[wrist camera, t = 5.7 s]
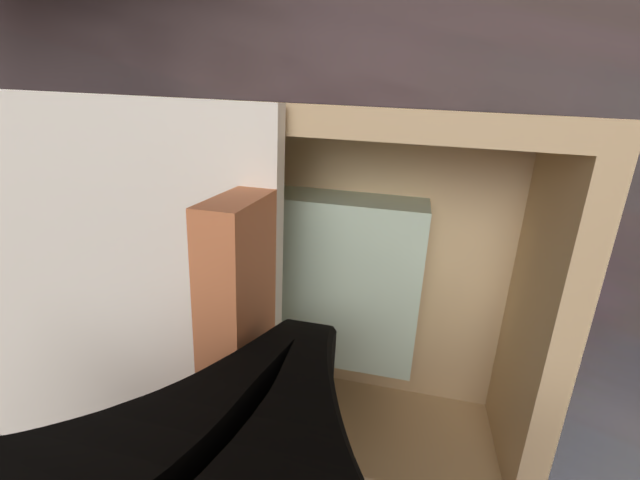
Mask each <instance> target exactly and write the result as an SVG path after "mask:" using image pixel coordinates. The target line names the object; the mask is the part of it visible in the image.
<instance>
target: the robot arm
mask: <svg viewBox="0 0 640 480" xmlns="http://www.w3.org/2000/svg"><path fill="white" fill-rule="evenodd" d="M336 334H337V331H336V329H335V328H334V327H333V326H330V325H324V324H318V323H311V322H305V321H298V320H292V319H286V320H284V321H283V322H281V323H279V324H278V325H276V326H275V327H273V328H271V329H270V330H268V331H267V332H265V333H264V334H262V335H261V336H259V337H257V338H256V339H254V340H253V341H251V342H249V343H248V344H246V345H245V346H243V347H241V348H240V349H238V350H236V351H235V352H233V353H231V354H229V355H228V356H226V357H224V358H222V359H220V360H219V361H217V362H215V363H213V364H211V365H210V366H208V367H206V368H204V369H202V370H200V371H198V372H196V373H194V374H192V375H190V376H188V377H186V378H184V379H182V380H180V381H177V382H175V383H173V384H171V385H168V386H166V387H164V388H161V389H159V390H157V391H154V392H152V393H149V394H146V395H144V396H141V397H138V398H135V399H132V400H129V401H127V402H124V403H121V404H118V405H115V406H113V407H110V408H107V409H104V410H101V411H98V412H94V413H91V414H88V415H84V416H81V417H77V418H74V419H70V420H67V421H63V422H59V423H55V424H51V425H48V426H44V427H40V428H35V429H31V430H27V431H23V432H18V433H13V434H8V435H3V436H0V480H365V479H364V477H363V475H362V472H361V470H360V468H359V465H358V463H357V461H356V458H355V456H354V453H353V451H352V448H351V445H350V442H349V439H348V436H347V433H346V430H345V427H344V423H343V420H342V416H341V413H340V409H339V404H338V400H337V395H336V390H335V384H334V363H335V348H336Z"/></svg>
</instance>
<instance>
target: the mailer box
mask: <svg viewBox="0 0 640 480" xmlns="http://www.w3.org/2000/svg"><path fill="white" fill-rule="evenodd" d="M92 94H93V93H92ZM112 95H115V94H112ZM133 96H137V95H133ZM154 97H159V96H154ZM174 98H181V97H174ZM195 99H201V98H195ZM216 100H222V99H216ZM236 101H243V100H236ZM257 102H264V101H257ZM278 103H284V102H278ZM639 152H640V120H631V119H612V118H593V117H574V116H554V115H533V114H512V113H491V112H471V111H450V110H429V109H409V108H388V107H367V106H346V105H326V104H305V103H286V119H285V171H284V224H283V276H282V322H283V321H284V320H286V319H292V320H298V321H305V322H311V323H318V324H324V325H330V326H333V327H334V328H335V329H336V331H337V334H336V348H335V363H334V384H335V390H336V395H337V400H338V404H339V409H340V413H341V416H342V420H343V423H344V427H345V430H346V433H347V436H348V439H349V442H350V445H351V448H352V451H353V453H354V456H355V458H356V461H357V463H358V465H359V468H360V470H361V472H362V475H363V477H364V479H365V480H548V477H549V474H550V470H551V467H552V463H553V459H554V456H555V452H556V449H557V445H558V442H559V438H560V434H561V431H562V427H563V424H564V420H565V417H566V413H567V409H568V406H569V402H570V399H571V395H572V392H573V388H574V384H575V381H576V377H577V374H578V370H579V366H580V363H581V359H582V356H583V352H584V349H585V345H586V341H587V338H588V334H589V331H590V327H591V324H592V320H593V316H594V313H595V309H596V306H597V302H598V299H599V295H600V291H601V288H602V284H603V281H604V277H605V274H606V270H607V266H608V263H609V259H610V256H611V252H612V249H613V245H614V241H615V238H616V234H617V231H618V227H619V224H620V220H621V216H622V213H623V209H624V206H625V202H626V198H627V195H628V191H629V188H630V184H631V181H632V177H633V173H634V170H635V166H636V163H637V159H638V156H639Z"/></svg>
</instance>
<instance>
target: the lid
mask: <svg viewBox="0 0 640 480" xmlns="http://www.w3.org/2000/svg"><path fill="white" fill-rule="evenodd" d="M285 119H286V103H278V102H257V101H236V100H216V99H195V98H174V97H154V96H133V95H112V94H92V93H71V92H50V91H30V90H9V89H0V434H1V435H8V434H13V433H18V432H23V431H27V430H31V429H35V428H40V427H44V426H48V425H51V424H55V423H59V422H63V421H67V420H70V419H74V418H77V417H81V416H84V415H88V414H91V413H94V412H98V411H101V410H104V409H107V408H110V407H113V406H115V405H118V404H121V403H124V402H127V401H129V400H132V399H135V398H138V397H141V396H144V395H146V394H149V393H152V392H154V391H157V390H159V389H161V388H164V387H166V386H168V385H171V384H173V383H175V382H177V381H180V380H182V379H184V378H186V377H188V376H190V375H192V374H194V373H196V372H198V371H200V370H202V369H204V368H206V367H208V366H210V365H211V364H213V363H215V362H217V361H219V360H220V359H222V358H224V357H226V356H228V355H229V354H231V353H233V352H235V351H236V350H238V349H240V348H241V347H243V346H245V345H246V344H248V343H249V342H251V341H253V340H254V339H256V338H257V337H259V336H261V335H262V334H264V333H265V332H267V331H268V330H270V329H271V328H273V327H275V326H276V325H278V324H279V323H281V322H282V276H283V224H284V171H285Z"/></svg>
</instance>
